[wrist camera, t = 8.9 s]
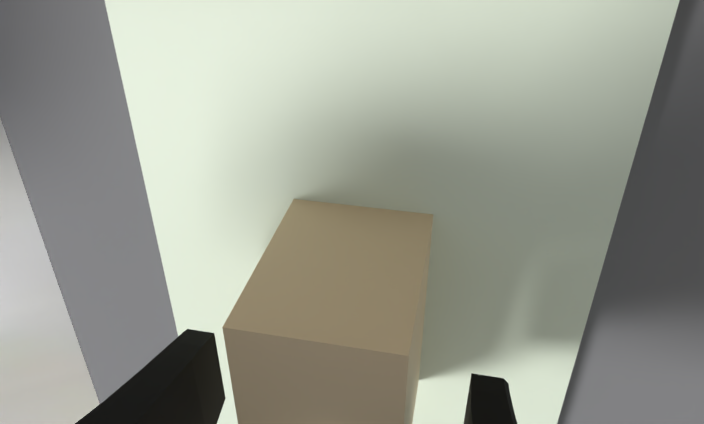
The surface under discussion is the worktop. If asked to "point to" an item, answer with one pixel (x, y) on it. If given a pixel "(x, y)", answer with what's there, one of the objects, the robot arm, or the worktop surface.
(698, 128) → the charcoal mat
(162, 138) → the cover plate
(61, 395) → the worktop surface
